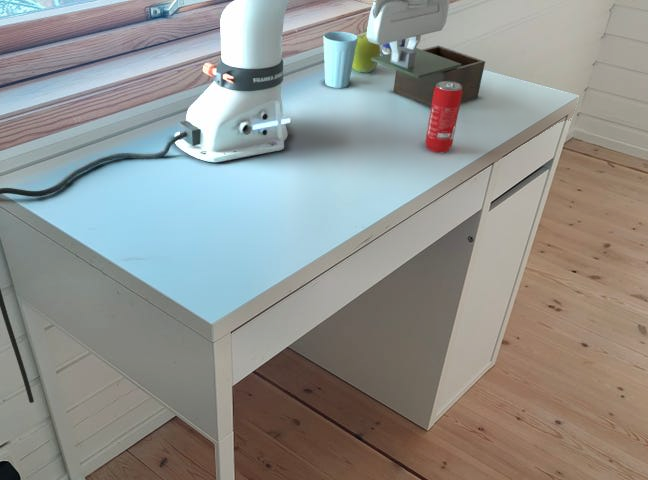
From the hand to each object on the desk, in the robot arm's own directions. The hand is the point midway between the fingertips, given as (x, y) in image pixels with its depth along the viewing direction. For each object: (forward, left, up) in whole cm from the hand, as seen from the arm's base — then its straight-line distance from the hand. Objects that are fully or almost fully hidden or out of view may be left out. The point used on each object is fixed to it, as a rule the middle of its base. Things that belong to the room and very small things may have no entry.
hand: (402, 59), depth 143 cm
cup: (-1, +18, -10) cm, 21 cm away
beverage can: (-9, -20, -10) cm, 24 cm away
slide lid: (+4, 0, -2) cm, 5 cm away
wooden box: (+13, 0, -10) cm, 16 cm away
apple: (+11, +22, -10) cm, 27 cm away
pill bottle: (+27, +27, -10) cm, 39 cm away
